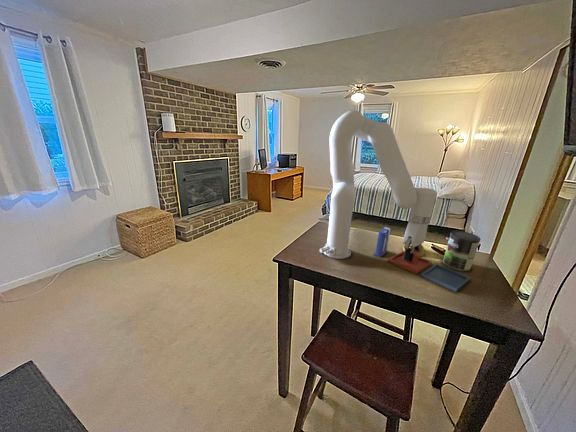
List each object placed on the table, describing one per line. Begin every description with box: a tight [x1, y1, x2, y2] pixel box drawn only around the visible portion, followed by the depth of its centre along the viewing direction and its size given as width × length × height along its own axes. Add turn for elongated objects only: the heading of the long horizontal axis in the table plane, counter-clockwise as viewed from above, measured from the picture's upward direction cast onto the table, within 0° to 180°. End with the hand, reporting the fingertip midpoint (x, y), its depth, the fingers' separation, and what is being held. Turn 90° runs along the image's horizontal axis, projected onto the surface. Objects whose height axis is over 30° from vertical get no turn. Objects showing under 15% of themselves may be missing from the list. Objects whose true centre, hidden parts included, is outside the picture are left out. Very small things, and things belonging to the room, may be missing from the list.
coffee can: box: [442, 230, 481, 271], centre depth 102 cm, size 10×10×14 cm
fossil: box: [402, 244, 427, 257], centre depth 114 cm, size 11×6×10 cm
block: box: [403, 248, 420, 264], centre depth 103 cm, size 4×4×4 cm
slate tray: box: [420, 263, 471, 292], centre depth 93 cm, size 13×12×2 cm
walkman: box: [374, 226, 392, 258], centre depth 110 cm, size 8×3×12 cm, turn 141°
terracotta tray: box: [387, 250, 432, 274], centre depth 104 cm, size 13×12×2 cm
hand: (410, 258), depth 103 cm, fingers closed on block, 4 cm apart
